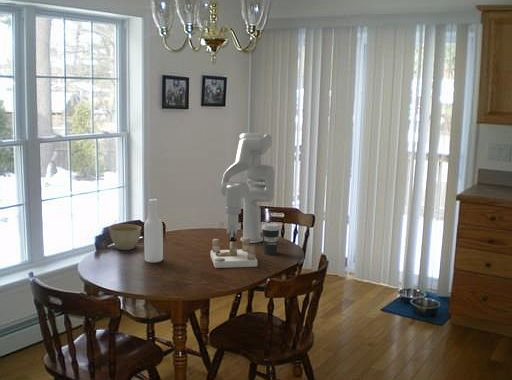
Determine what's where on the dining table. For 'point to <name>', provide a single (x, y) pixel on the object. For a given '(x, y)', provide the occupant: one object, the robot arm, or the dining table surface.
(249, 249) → the fixed legs
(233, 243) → the swing leg
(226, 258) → the footstool seat
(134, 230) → the planter bowl
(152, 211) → the alcohol
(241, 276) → the dining table surface
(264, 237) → the coffee cup
